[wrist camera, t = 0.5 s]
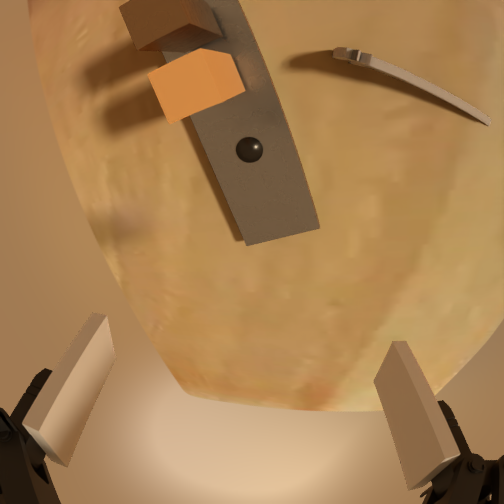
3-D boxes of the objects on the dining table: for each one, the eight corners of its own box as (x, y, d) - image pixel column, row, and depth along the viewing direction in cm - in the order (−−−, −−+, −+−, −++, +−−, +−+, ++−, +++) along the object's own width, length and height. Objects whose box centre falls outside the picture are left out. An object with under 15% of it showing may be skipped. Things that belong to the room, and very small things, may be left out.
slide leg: (231, 54, 24) (200, 48, 16) (246, 90, 26) (222, 102, 18) (194, 69, 25) (147, 74, 17) (208, 104, 27) (169, 124, 19)
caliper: (330, 58, 25) (340, 56, 20) (332, 49, 24) (342, 44, 19) (487, 125, 25) (517, 140, 20) (489, 117, 24) (519, 131, 19)
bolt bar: (227, -23, 21) (189, -66, 10) (319, 222, 36) (327, 293, 25) (150, 13, 23) (81, -2, 13) (248, 239, 38) (230, 312, 28)
